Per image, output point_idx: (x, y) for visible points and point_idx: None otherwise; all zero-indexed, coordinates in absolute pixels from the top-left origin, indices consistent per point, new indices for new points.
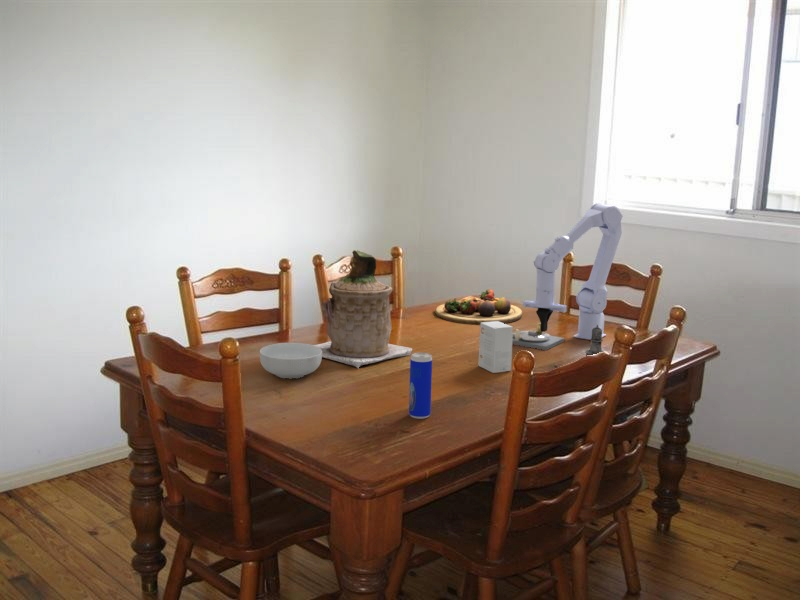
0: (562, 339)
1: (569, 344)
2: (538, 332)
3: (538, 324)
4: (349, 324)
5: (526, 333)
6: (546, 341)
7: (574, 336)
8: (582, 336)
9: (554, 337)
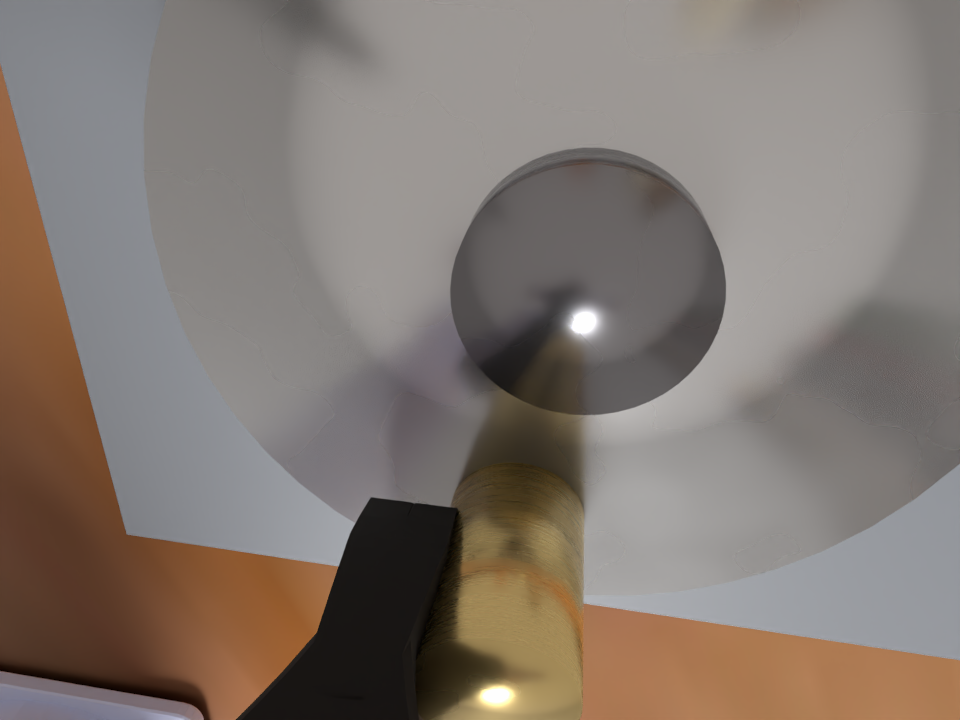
0: (116, 470)
1: (8, 391)
2: (508, 471)
3: (500, 633)
4: None
5: (772, 302)
6: None
7: (173, 709)
8: (78, 717)
9: (259, 501)
